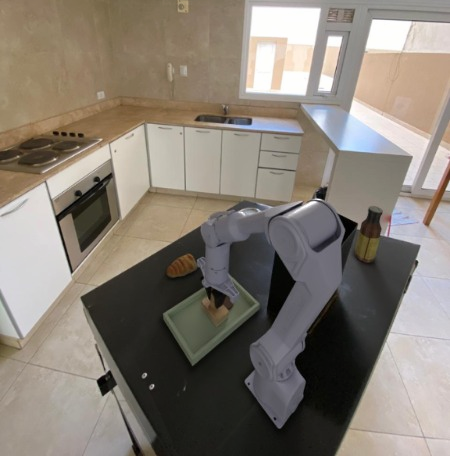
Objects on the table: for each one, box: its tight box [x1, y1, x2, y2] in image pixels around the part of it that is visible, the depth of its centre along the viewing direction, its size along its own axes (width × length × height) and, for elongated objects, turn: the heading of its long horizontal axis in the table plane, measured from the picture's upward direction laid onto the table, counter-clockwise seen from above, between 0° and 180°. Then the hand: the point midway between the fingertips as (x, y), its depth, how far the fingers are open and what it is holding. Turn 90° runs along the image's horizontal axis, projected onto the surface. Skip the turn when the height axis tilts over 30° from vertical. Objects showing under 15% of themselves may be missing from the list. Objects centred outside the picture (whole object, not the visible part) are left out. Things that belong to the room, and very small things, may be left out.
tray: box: [162, 275, 261, 367], centre depth 67 cm, size 14×22×2 cm, turn 130°
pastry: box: [166, 253, 198, 279], centre depth 80 cm, size 9×7×4 cm
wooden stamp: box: [200, 287, 229, 327], centre depth 66 cm, size 7×4×8 cm, turn 41°
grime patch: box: [223, 296, 234, 310], centre depth 70 cm, size 4×4×1 cm
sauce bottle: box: [354, 205, 383, 264], centre depth 86 cm, size 6×6×20 cm
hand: (215, 301), depth 66 cm, fingers closed on wooden stamp, 2 cm apart
